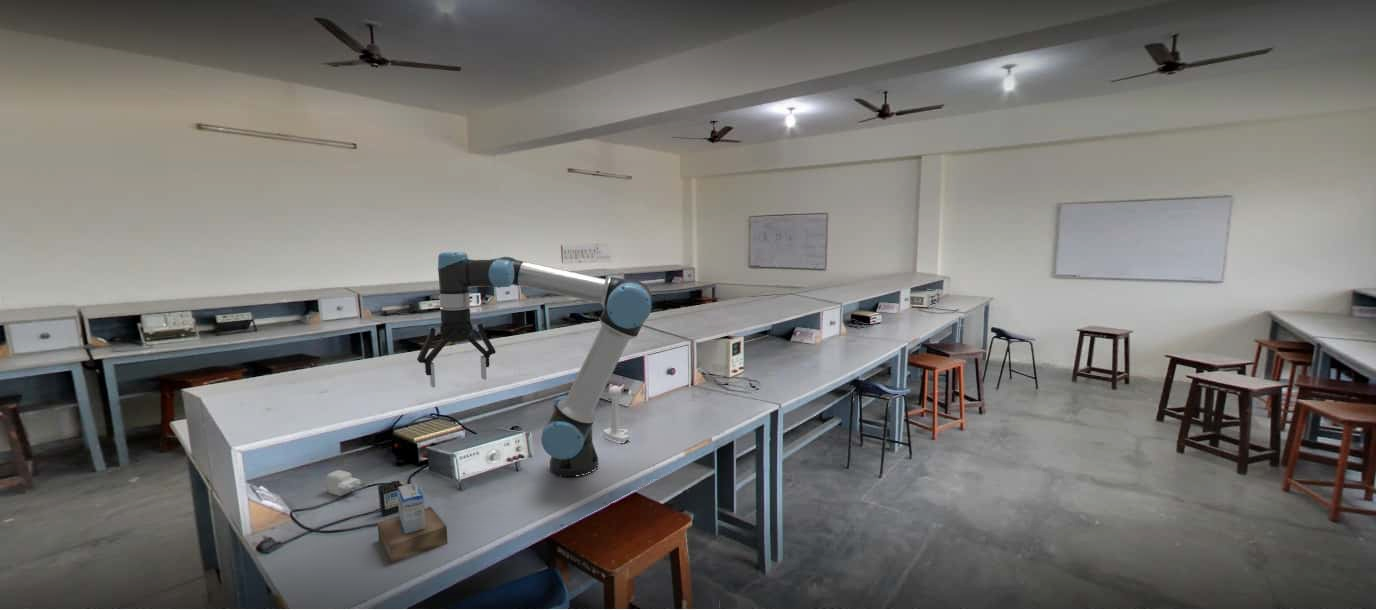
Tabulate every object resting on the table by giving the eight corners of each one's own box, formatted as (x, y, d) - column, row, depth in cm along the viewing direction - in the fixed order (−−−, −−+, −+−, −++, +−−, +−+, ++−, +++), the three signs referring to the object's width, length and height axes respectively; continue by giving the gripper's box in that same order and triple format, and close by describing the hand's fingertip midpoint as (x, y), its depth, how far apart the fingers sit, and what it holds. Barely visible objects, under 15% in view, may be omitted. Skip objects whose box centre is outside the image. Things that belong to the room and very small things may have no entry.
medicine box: (399, 520, 129) (396, 486, 128) (419, 514, 131) (417, 481, 130) (404, 535, 122) (402, 499, 121) (425, 528, 125) (423, 494, 124)
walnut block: (431, 524, 136) (430, 506, 135) (447, 545, 127) (446, 525, 127) (378, 542, 128) (377, 523, 127) (391, 566, 119) (390, 545, 119)
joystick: (600, 436, 194) (600, 383, 191) (616, 431, 199) (616, 379, 196) (620, 445, 186) (620, 390, 183) (636, 439, 192) (636, 385, 189)
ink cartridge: (382, 517, 138) (379, 488, 137) (380, 513, 140) (377, 485, 139) (403, 510, 142) (400, 482, 140) (401, 507, 143) (398, 479, 142)
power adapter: (369, 494, 150) (367, 474, 149) (352, 502, 146) (351, 482, 145) (341, 487, 154) (339, 467, 153) (324, 494, 150) (323, 474, 149)
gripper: (497, 303, 157) (499, 372, 160) (402, 309, 143) (407, 386, 146) (504, 306, 151) (507, 378, 154) (407, 313, 137) (412, 393, 140)
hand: (459, 382), depth 150 cm, fingers open, 13 cm apart
